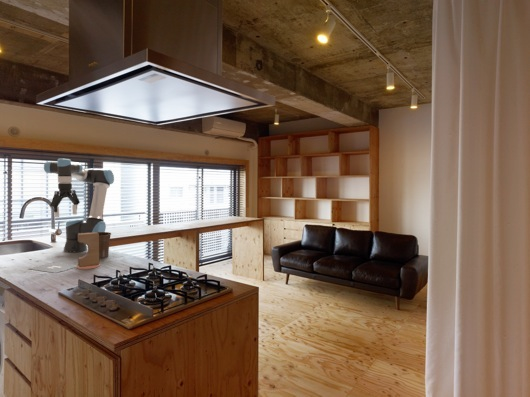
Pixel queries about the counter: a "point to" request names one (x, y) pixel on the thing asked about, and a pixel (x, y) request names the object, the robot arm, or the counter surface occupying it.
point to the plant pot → (104, 244)
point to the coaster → (88, 266)
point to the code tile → (54, 267)
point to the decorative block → (89, 249)
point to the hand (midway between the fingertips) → (66, 215)
